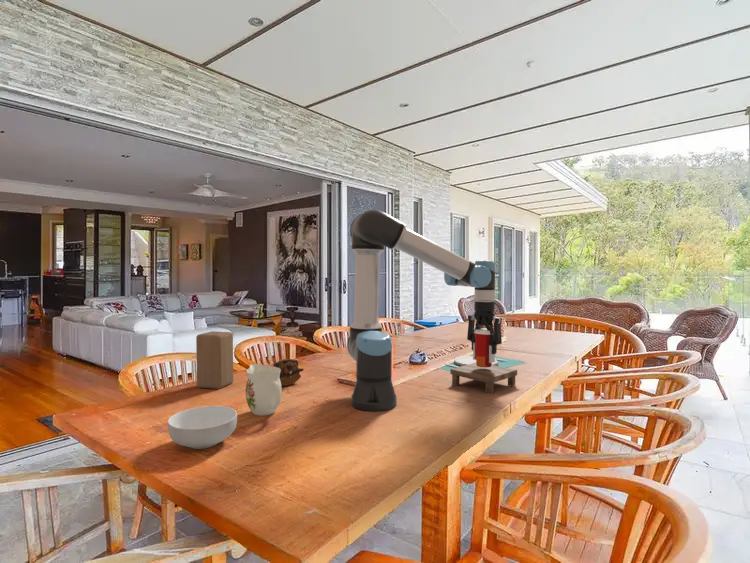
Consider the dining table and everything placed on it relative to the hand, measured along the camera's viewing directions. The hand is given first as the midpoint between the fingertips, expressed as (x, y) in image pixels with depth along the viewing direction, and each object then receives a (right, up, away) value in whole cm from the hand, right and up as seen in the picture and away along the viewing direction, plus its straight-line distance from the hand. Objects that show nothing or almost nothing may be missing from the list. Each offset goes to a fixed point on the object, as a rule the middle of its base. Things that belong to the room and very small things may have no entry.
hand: (483, 360), depth 168 cm
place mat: (+6, -9, +37) cm, 39 cm away
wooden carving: (-76, -10, -1) cm, 76 cm away
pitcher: (-76, -11, -32) cm, 83 cm away
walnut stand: (0, -9, 0) cm, 9 cm away
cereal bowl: (-86, -12, -55) cm, 103 cm away
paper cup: (0, -2, 0) cm, 2 cm away
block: (-103, -9, -1) cm, 103 cm away
